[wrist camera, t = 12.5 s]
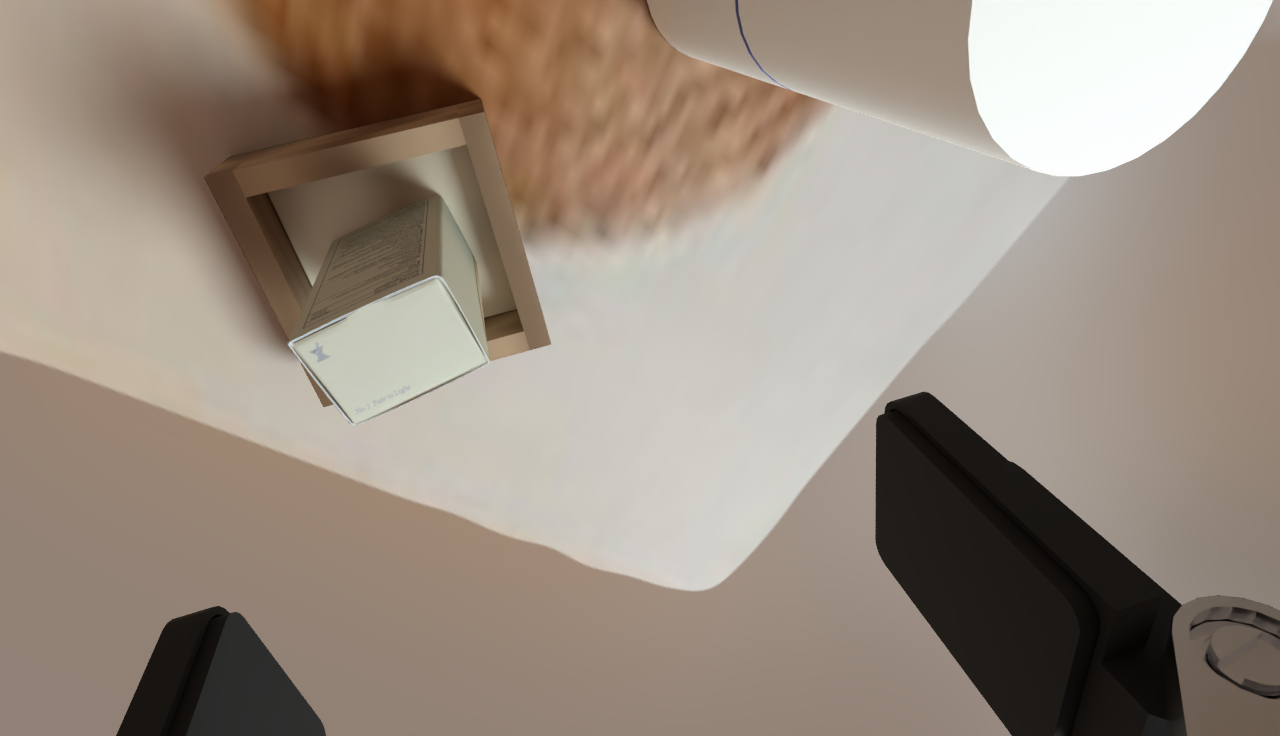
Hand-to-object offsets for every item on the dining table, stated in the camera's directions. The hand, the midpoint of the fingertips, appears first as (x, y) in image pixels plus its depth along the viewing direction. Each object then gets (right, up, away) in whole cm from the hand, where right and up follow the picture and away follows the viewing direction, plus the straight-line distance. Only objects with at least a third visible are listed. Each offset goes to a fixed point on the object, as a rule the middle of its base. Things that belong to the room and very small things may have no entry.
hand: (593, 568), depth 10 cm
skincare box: (-12, +9, +26) cm, 30 cm away
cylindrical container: (+4, +22, +25) cm, 34 cm away
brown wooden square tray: (-12, +10, +27) cm, 31 cm away
